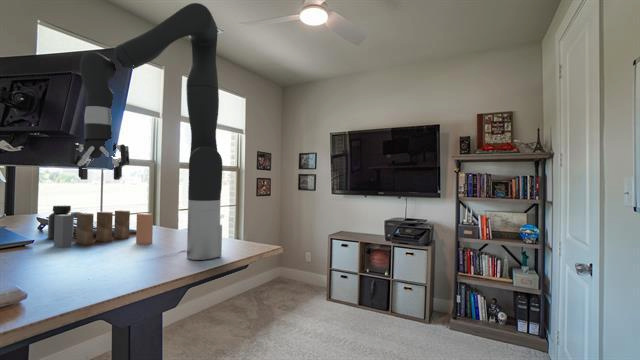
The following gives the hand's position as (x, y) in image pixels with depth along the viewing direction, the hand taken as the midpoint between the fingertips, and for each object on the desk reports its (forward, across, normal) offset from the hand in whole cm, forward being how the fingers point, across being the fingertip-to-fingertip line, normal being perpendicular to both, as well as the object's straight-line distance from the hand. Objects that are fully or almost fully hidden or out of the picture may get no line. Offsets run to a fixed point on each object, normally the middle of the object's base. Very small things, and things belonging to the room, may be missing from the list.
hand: (100, 179), depth 86 cm
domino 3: (+21, -5, +25) cm, 33 cm away
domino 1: (+21, -12, +15) cm, 29 cm away
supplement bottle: (+21, -24, +23) cm, 39 cm away
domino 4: (+22, +7, +13) cm, 26 cm away
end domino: (+21, -15, +10) cm, 28 cm away
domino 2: (+21, -8, +20) cm, 30 cm away
